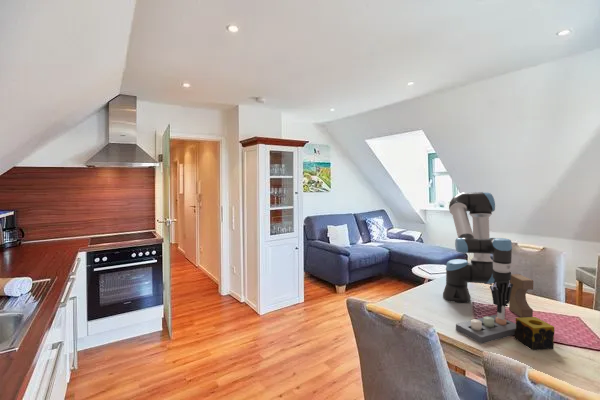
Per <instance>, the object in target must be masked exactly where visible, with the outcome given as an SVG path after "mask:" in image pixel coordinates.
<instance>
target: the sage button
mask: <svg viewBox="0 0 600 400" xmlns="http://www.w3.org/2000/svg"><path fill="white" fill-rule="evenodd" d="M488 316H489V315H487V316H483V317H484V320H483V326H485V327H487V328H489V329H491V328H494V318H492V317H488Z"/></svg>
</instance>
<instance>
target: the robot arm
mask: <svg viewBox="0 0 600 400" xmlns="http://www.w3.org/2000/svg"><path fill="white" fill-rule="evenodd" d="M495 210H496V201H495V199H494V196H493V194H492V193H491V192H484V191H479V192H476V191H475V192H460V193H457V194H456V195H455V196H453V197H452V198H451V199H450V201H449V204H448V211H449V213H450V214H451V215H452V218H453V219H452V220H453V223H454V227H455V230H456V234H457V237H456V239H455V241H454V245H455V246H454V247H455V251H456V252H457V253H463V254H473V257H471V259H470V262H469V261H468V260H467V259H462V258H457V259H456V258H455V259H450V260H448V261H447V262H446V265H445V270H446V271H445V287H444V290H443V291H442V298H443V299H444V300H447V301H448V302H452V303H458V304H464V303H465V304H467V303H469V302H471V294H470V291H469V287H468V283H473V284H484V285H486V284H487V285H488V284H490V286H489V289H490V290H491V296H492V304H493V305H496V312H497V313H496V315H497V318H499V319H501V320H505V319H506V316H505V315H506V307H508V306H509V300H510V295H511V290H512V287H513V284H511V283H510V280H511V274H512V253H513V243H512V240H511V239H509V238H506V237H505V238H504V237H490V217H491V215H493V214H492V213H493V212H495ZM467 212H469V216H470V217H471V218H472V226H471V222H470V220H469V216H468V214H467ZM491 255H492V258H491ZM491 284H493V285H491Z"/></svg>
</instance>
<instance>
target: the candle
mask: <svg viewBox="0 0 600 400" xmlns="http://www.w3.org/2000/svg"><path fill="white" fill-rule="evenodd" d="M515 324H516V329H515V335H514V337H513V339H515V340H516V341H517V342H519V344H522V345H523V346H525V347H527V348H528V349H530V350H531V351H539V350H540V351H542V350H553V349H554V347H555V343H554V337H555V326H554V325H552V324H550V323H548V322H547V321H544V320H542V319H540V318H539V317H536V316H533V317H524V318H521V317H515Z"/></svg>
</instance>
